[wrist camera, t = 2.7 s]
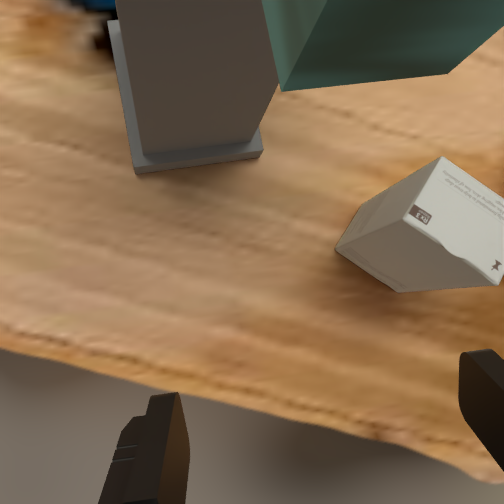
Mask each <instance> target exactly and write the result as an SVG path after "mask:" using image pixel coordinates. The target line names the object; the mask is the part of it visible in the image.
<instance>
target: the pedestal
mask: <svg viewBox="0 0 504 504" xmlns="http://www.w3.org/2000/svg"><path fill="white" fill-rule="evenodd" d="M115 3H116V9H117V14H118V20H114V21H107V22H108V27H109V33H110V38H111V44H112V50H113V55H114V61H115V66H116V72H117V78H118V83H119V89H120V94H121V100H122V105H123V111H124V117H125V122H126V128H127V133H128V139H129V145H130V150H131V156H132V161H133V167H134V171H135V174H141V173H148V172H156V171H163V170H170V169H178V168H185V167H192V166H199V165H207V164H214V163H221V162H229V161H236V160H243V159H250V158H258V157H260V155H261V154H262V152H263V145H262V140H261V135H260V131H259V124H260V122H261V119H262V117H263V115H264V113H265V111H266V109H267V107H268V105H269V103H270V101H271V98H272V96H273V94H274V92H275V90H276V88H277V86H278V84H279V79H278V74H277V70H276V65H275V60H274V56H273V51H272V46H271V42H270V37H269V32H268V28H267V23H266V18H265V14H264V9H263V5H262V0H115Z"/></svg>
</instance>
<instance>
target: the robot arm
mask: <svg viewBox="0 0 504 504" xmlns="http://www.w3.org/2000/svg"><path fill="white" fill-rule="evenodd" d="M458 399H459V406H460V410H461V413H462V415H463V417H464V419H465V421H466V422H467V424H468V425H469V426H470V428H471V429H472V430H473V432H474V433H475V434H476V436H477V437H478V438H479V440H480V441H481V442H482V444H483V445H484V446H485V447H486V449H487V450H488V451H489V453H490V454H491V455H492V457H493V458H494V459H495V461H496V462H497V463H498V465H499V466H500V467H501V469H502V470H503V471H504V360H503V359H502V358H501V357H500V356H499V355H498V354H497V353H496V352H495V351H493V350H492V349H484V350H477V351H469V352H463V353H462V354H461V355H460V360H459V395H458ZM112 460H113V462H112V463H111V465H110V468H109V471H108V474H107V477H106V481H105V484H104V487H103V490H102V493H101V496H100V499H99V502H98V504H185V499H186V491H187V481H188V472H189V463H190V446H189V437H188V432H187V427H186V423H185V418H184V413H183V409H182V404H181V399H180V396H179V393H178V392H174V393H167V394H160V395H152V396H151V397H150V400H149V404H148V408H147V411H146V415H144V416H137V417H133V418H132V419H131V420H130V422H129V423H128V424H127V426H125V428H124V429H123V430H122V431H121V434H120V438H119V441H118V444H117V450H115V453H114V456H113V459H112Z"/></svg>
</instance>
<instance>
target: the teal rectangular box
mask: <svg viewBox="0 0 504 504" xmlns="http://www.w3.org/2000/svg"><path fill="white" fill-rule="evenodd" d="M262 5H263V9H264V14H265V18H266V23H267V28H268V32H269V37H270V42H271V46H272V51H273V56H274V60H275V65H276V70H277V74H278V79H279V83H280V88H281V92H284V91H293V90H302V89H312V88H321V87H330V86H340V85H349V84H358V83H368V82H377V81H386V80H396V79H405V78H414V77H424V76H433V75H442V74H448V73H449V72H450V71H451V70H453V69H454V68H455V67H456V66H457V65H458V64H460V63H461V62H462V61H463V60H464V59H465V58H467V57H468V56H469V55H470V54H471V53H472V52H474V51H475V50H476V49H477V48H478V47H479V46H481V45H482V44H483V43H484V42H485V41H486V40H488V39H489V38H490V37H491V36H492V35H493V34H495V33H496V32H497V31H498V30H499V29H500V28H502V27H503V26H504V0H262Z"/></svg>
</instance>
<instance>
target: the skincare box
mask: <svg viewBox="0 0 504 504" xmlns="http://www.w3.org/2000/svg"><path fill="white" fill-rule="evenodd" d="M335 250H336V251H337V252H339V253H340V254H341V255H343V256H344V257H346V258H347V259H349V260H350V261H352V262H353V263H354V264H356V265H357V266H359V267H360V268H362V269H363V270H365V271H366V272H368V273H369V274H370V275H372V276H373V277H375V278H376V279H378V280H380V281H381V282H383V283H384V284H386V285H388V286H389V287H390V288H392V289H393V290H395V291H396V292H397V293H402V292H415V291H428V290H441V289H453V288H467V287H480V286H498V285H499V283H500V281H501V279H502V277H503V275H504V199H503V198H502V197H500V196H499V195H497V194H496V193H495V192H493V191H492V190H490V189H489V188H488V187H486V186H485V185H483V184H482V183H480V182H479V181H478V180H476V179H475V178H473V177H472V176H470V175H469V174H467V173H466V172H465V171H463V170H462V169H460V168H459V167H457V166H456V165H455V164H453V163H452V162H450V161H449V160H447V159H446V158H445V157H443V156H441V157H439V158H437V159H436V160H434V161H432V162H431V163H429V164H427V165H426V166H424V167H422V168H421V169H419V170H417V171H415V172H414V173H412V174H411V175H409V176H408V177H406V178H404V179H403V180H401V181H399V182H398V183H396V184H394V185H393V186H391V187H389V188H388V189H386V190H384V191H383V192H381V193H379V194H378V195H376V196H375V197H373V198H371V199H370V200H368V201H366V202H365V203H363V204H362V205H361V207H360V208H359V210H358V211H357V213H356V215H355V216H354V218H353V220H352V221H351V223H350V224H349V226H348V228H347V229H346V231H345V232H344V234H343V236H342V237H341V239H340V240H339V242H338V244H337V245H336V247H335Z"/></svg>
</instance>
